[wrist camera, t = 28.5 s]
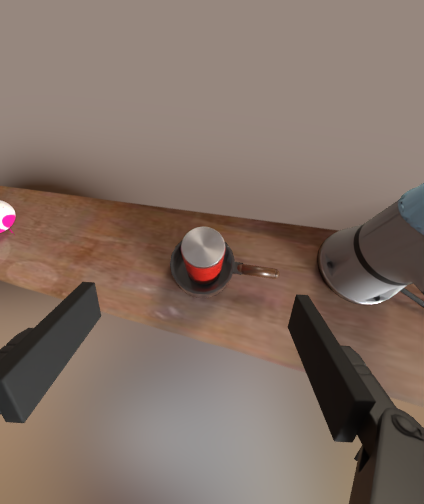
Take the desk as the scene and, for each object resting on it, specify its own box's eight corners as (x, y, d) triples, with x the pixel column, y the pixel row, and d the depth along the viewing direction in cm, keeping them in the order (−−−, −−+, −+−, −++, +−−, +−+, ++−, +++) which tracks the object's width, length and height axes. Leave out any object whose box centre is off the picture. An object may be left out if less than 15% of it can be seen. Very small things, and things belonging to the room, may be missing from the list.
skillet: (243, 266, 43) (247, 258, 39) (205, 311, 40) (205, 308, 36) (200, 232, 46) (199, 222, 41) (161, 272, 42) (156, 265, 38)
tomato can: (227, 266, 42) (234, 244, 32) (205, 292, 41) (205, 277, 30) (202, 246, 44) (201, 218, 33) (179, 270, 42) (170, 248, 31)
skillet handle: (232, 274, 40) (233, 271, 38) (233, 264, 40) (234, 261, 39) (277, 280, 39) (280, 278, 38) (277, 270, 40) (280, 267, 38)
